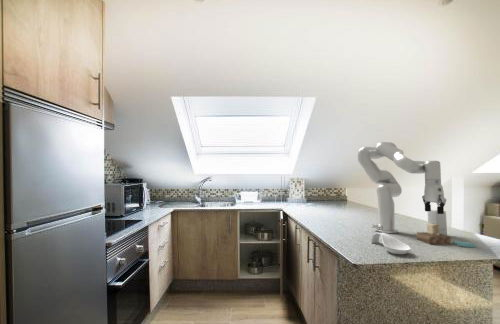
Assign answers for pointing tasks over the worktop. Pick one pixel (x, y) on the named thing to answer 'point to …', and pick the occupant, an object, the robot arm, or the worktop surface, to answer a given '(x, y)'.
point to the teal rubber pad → (464, 244)
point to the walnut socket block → (433, 238)
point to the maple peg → (433, 229)
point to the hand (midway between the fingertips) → (434, 212)
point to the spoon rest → (391, 244)
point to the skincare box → (438, 220)
